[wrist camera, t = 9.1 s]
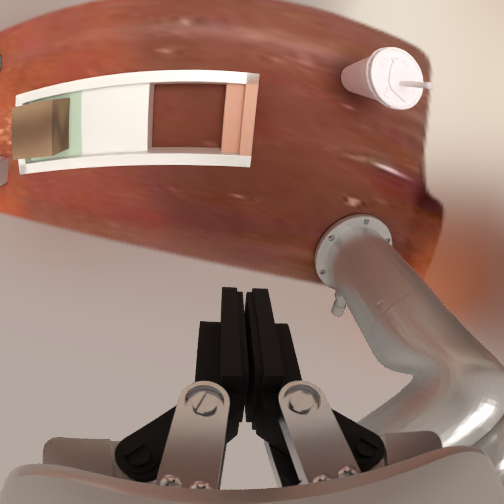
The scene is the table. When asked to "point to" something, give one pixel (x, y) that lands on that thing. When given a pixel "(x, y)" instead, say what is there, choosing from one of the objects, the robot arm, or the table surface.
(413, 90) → the smoothie
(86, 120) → the box
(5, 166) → the milk carton
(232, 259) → the table surface
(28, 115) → the block
